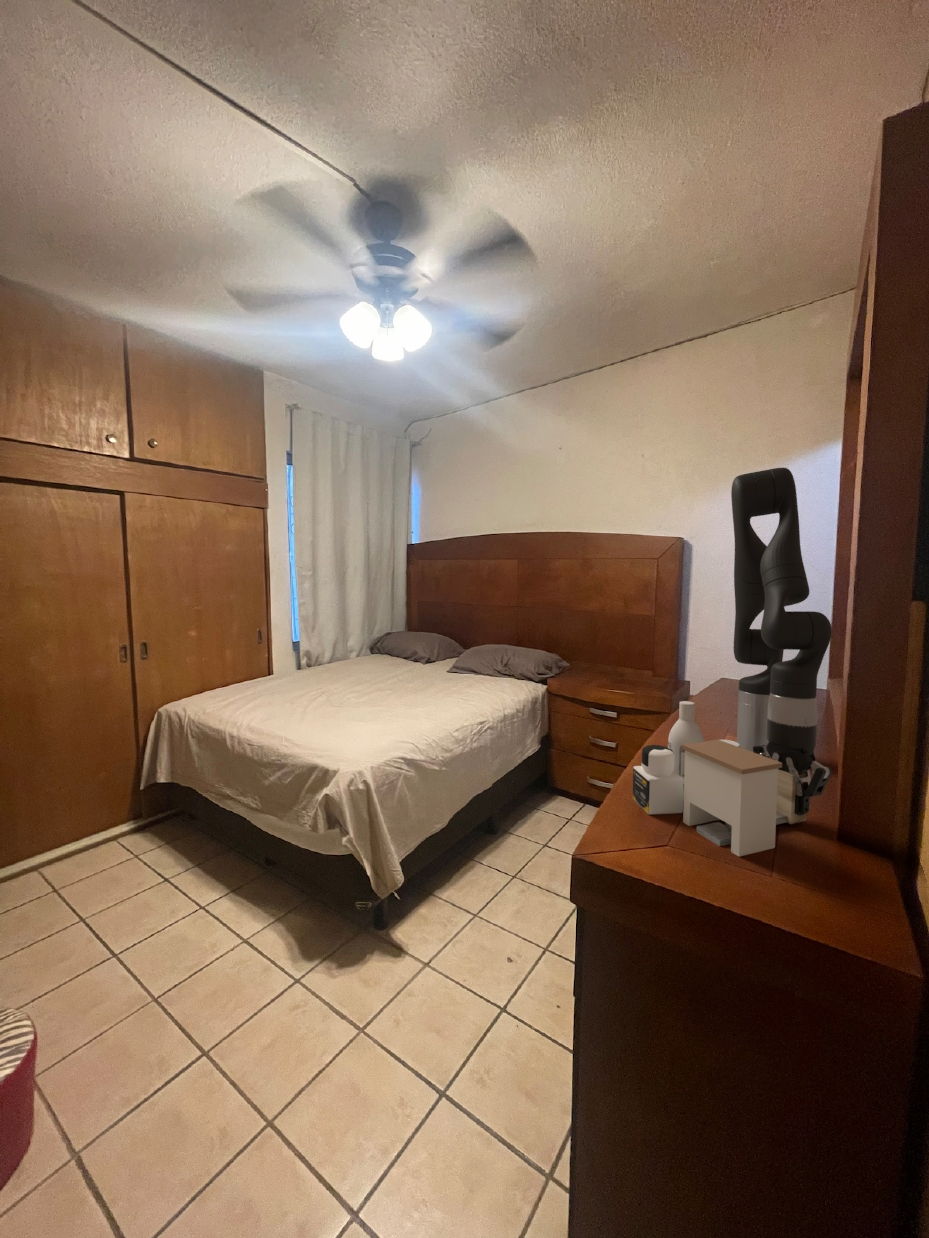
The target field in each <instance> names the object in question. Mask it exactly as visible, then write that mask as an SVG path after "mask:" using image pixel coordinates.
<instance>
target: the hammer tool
mask: <svg viewBox="0 0 929 1238" xmlns="http://www.w3.org/2000/svg"><path fill="white" fill-rule="evenodd" d="M804 776H805V773H804V774H802V775H799V778H800V777H804ZM802 786H803V783H802ZM795 795H797V794H796V791H795V782H794V775H790V773H789V772H786V771H784V770H781V769H778V781H777V806H776V826H777V825H781V824H785V823H788V824H790V825H794V824H797V823H801V822H805V821H807V813H806V814H805V815H800V816H799V815H797V814H795ZM724 825H725V826H726V827H728V828H730V829H732V826H731V825H730V824H728V823H726V822H725V823H724Z"/></svg>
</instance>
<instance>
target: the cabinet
mask: <svg viewBox="0 0 929 1238" xmlns="http://www.w3.org/2000/svg"><path fill="white" fill-rule="evenodd" d="M721 740H722V739H713V740H712V739H711V740H704V742H697V743H690V744H683V745H682V749H683V750H685V769H684V801H683V812H682V814H683V815H682V817H683V818H682V822H683V823H684V824H685V825H687V826H689V827H692V826H696V825H697V826H698V825H701V824H702V825H703V824H707V823H712V822H714V821H716V822H717V821H720V820H721V821H723V822H726V823H728V824H730V825H731V826H732V836H731V844H730V852H731V854H734V855H735V856H737V857H742V856H749V855H751V854H756V853H760V852H764V851H768V850H772V849H775V847H776V828H777V827H776V826H777V825H776V806H777V781H778V768H782V763H781V762H778V761H776V760H773V759H770V758H767V757H765V756H762V755H759V754H756V753H754V752H751V751H748V750H746V749H743V748H740V747H737V746H735V745H732V744H729V743H726V742H724V741H721Z"/></svg>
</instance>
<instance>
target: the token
mask: <svg viewBox="0 0 929 1238" xmlns="http://www.w3.org/2000/svg"><path fill="white" fill-rule="evenodd" d="M696 833H698V834H699V835H700V836H702V837H704V838H705V839H707V840H709V841H710V842H712V843H713V844H715V845H716V846H718V847H723V846H726V845H727V846H729V845H731V836H732V829H730V828H728V827H726V826H725V824H723V823H721V822H719V821H716V822H710V823H705V824H702V825H701V824H700V825H697V826H696Z"/></svg>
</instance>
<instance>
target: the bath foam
mask: <svg viewBox="0 0 929 1238" xmlns="http://www.w3.org/2000/svg"><path fill="white" fill-rule="evenodd" d="M678 708H679V710H678V713H679V715H678V716H679V717H678V719H677V721H675V723H674V724H673V725H672V728H671V729H670V731H669V733H668V739H667V748H669V749H671V750H672V751H673V752H674V772H675V773H677V774H678V775H679V776H681V777H682V778H683V802H684V769H685V750H683V749H682V745H683V744H690V743H697V742H705V737H704V734H703V732H702V729H701V728H700V727H699V725H698V723H697V722H696V721H695V716H696V715H695V711H696V709H695V708H696V704H695V702H694V701H688V700H683V701H679V707H678Z"/></svg>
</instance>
